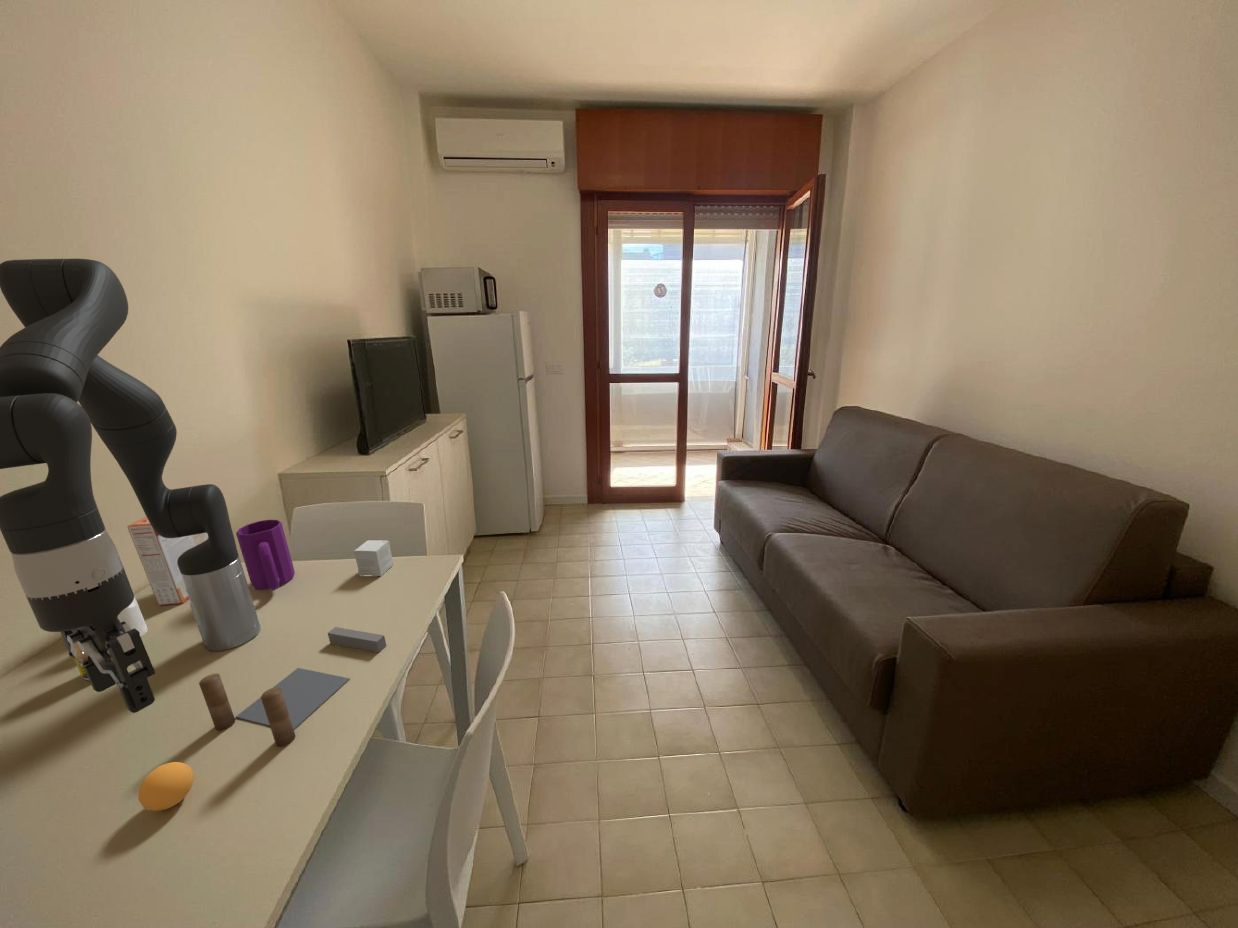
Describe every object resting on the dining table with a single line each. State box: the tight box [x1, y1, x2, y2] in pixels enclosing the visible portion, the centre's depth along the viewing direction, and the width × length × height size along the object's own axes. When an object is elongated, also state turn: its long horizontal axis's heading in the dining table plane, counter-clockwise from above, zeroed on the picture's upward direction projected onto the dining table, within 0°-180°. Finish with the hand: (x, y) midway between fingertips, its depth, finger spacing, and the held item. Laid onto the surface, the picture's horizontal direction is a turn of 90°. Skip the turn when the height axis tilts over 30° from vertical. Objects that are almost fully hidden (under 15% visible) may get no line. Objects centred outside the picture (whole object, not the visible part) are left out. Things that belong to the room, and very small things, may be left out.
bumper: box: [327, 626, 387, 653], centre depth 99 cm, size 12×2×2 cm, turn 74°
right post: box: [260, 687, 296, 748], centre depth 76 cm, size 3×3×9 cm
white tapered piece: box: [118, 596, 148, 638], centre depth 103 cm, size 6×12×6 cm
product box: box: [353, 539, 394, 577], centre depth 127 cm, size 6×6×7 cm
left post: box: [198, 673, 236, 732], centre depth 80 cm, size 3×3×9 cm
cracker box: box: [126, 516, 208, 606], centre depth 119 cm, size 14×6×21 cm, turn 5°
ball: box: [137, 761, 195, 812], centre depth 68 cm, size 6×6×6 cm
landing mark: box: [235, 667, 351, 731], centre depth 86 cm, size 12×12×1 cm
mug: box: [235, 519, 296, 591], centre depth 120 cm, size 9×16×15 cm, turn 38°
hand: (124, 696), depth 59 cm, fingers open, 8 cm apart
